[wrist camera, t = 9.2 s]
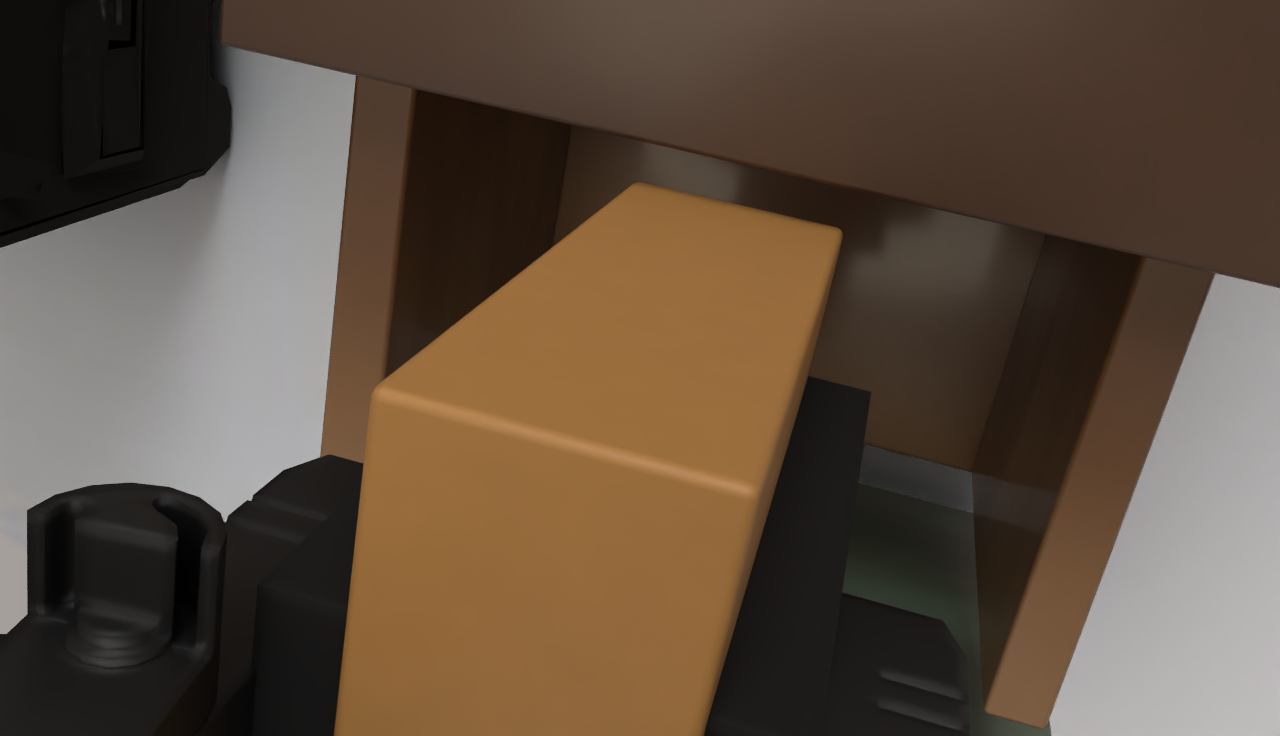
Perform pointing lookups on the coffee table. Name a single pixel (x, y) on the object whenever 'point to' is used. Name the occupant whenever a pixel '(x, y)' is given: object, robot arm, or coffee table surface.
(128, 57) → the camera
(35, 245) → the coffee table surface
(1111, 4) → the cabinet
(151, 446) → the coffee table surface
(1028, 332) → the drawer
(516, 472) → the orange rectangular block
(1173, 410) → the coffee table surface
